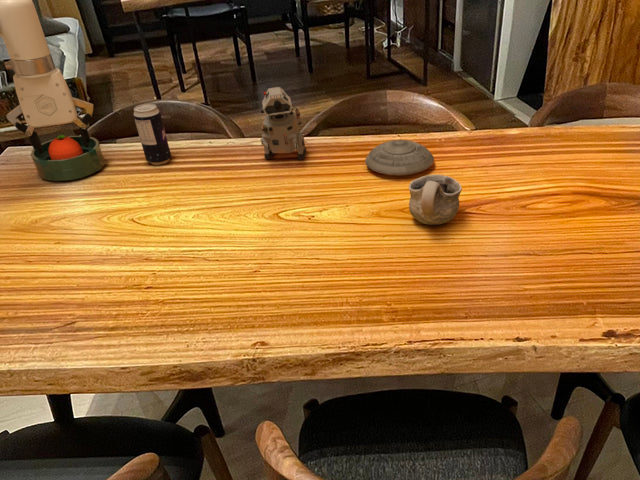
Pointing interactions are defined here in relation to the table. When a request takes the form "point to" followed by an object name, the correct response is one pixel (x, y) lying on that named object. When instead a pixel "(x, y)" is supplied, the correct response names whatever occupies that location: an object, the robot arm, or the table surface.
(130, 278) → the table surface
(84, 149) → the bowl
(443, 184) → the mug
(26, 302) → the table surface
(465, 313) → the table surface
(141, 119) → the beverage can
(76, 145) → the clementine
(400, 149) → the flying saucer
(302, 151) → the figurine
